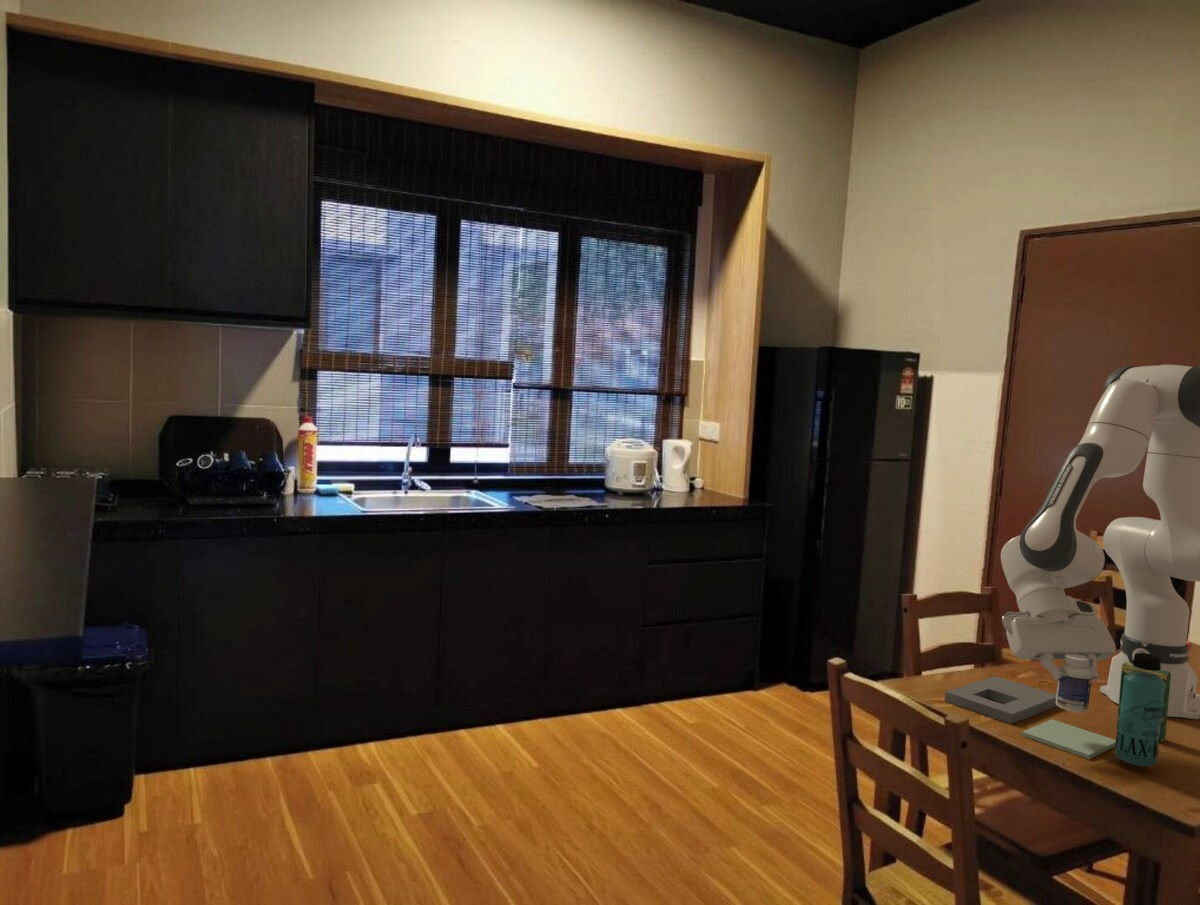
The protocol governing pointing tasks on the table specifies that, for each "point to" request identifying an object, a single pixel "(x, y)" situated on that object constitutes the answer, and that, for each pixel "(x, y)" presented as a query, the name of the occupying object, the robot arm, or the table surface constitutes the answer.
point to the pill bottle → (1074, 684)
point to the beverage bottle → (1141, 713)
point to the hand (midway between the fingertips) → (1077, 679)
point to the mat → (1070, 738)
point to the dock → (1002, 699)
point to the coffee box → (1166, 678)
